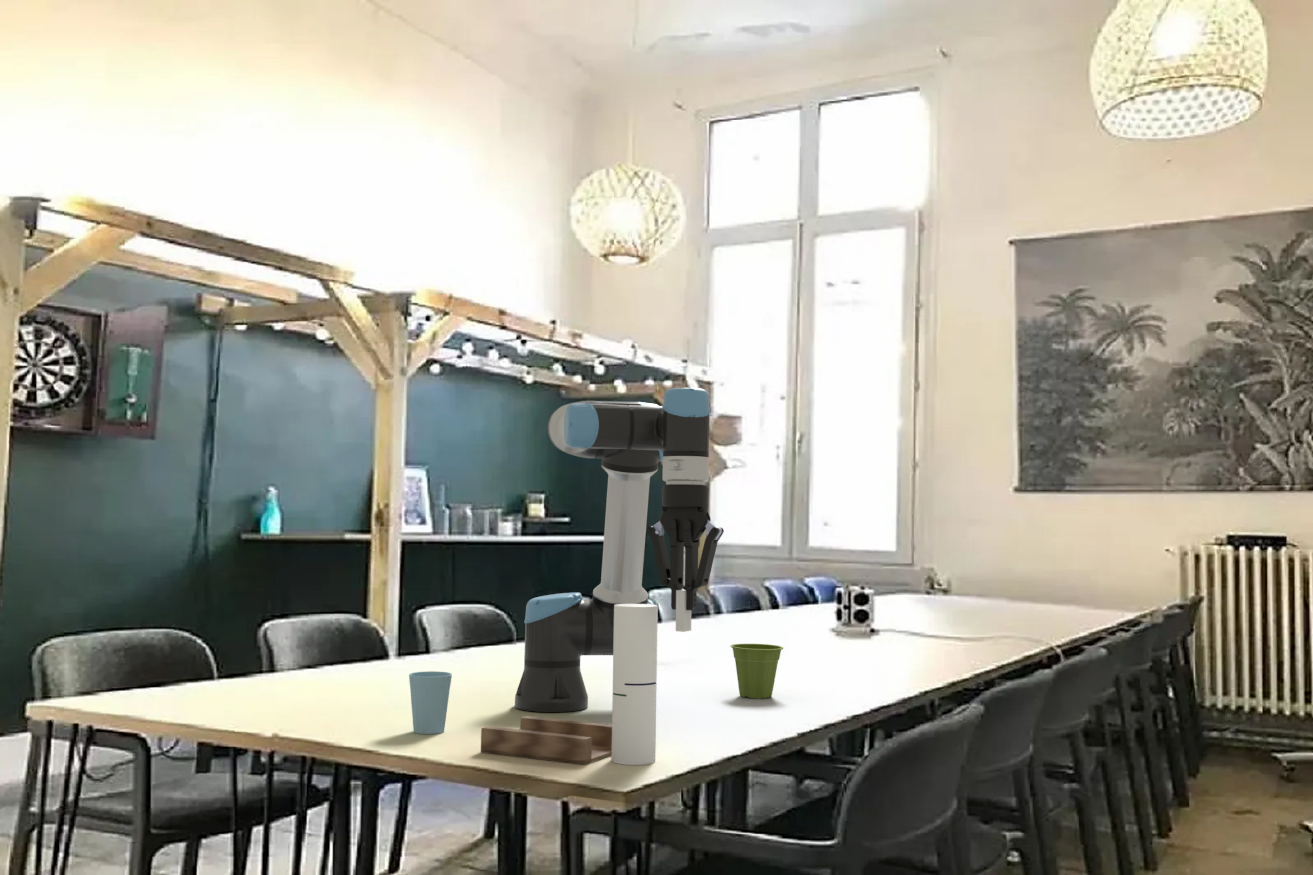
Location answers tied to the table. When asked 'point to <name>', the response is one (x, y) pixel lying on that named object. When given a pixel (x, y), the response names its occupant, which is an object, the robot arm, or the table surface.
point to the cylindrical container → (634, 684)
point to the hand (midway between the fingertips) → (683, 630)
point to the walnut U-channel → (550, 740)
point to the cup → (429, 700)
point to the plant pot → (756, 668)
